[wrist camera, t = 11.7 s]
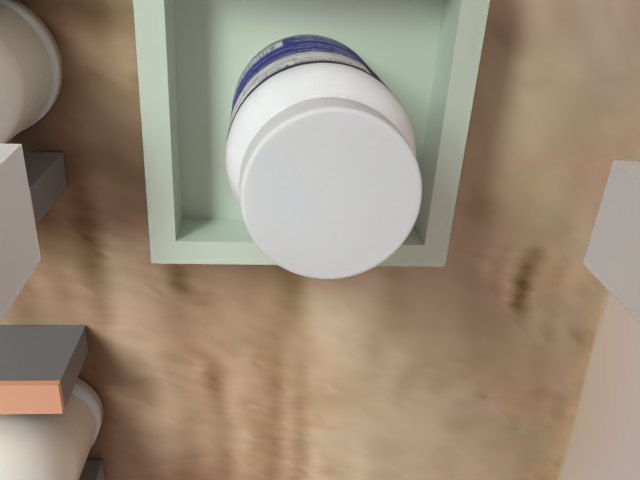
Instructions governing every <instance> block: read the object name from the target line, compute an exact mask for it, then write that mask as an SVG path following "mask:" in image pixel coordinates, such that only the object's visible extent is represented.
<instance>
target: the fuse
mask: <svg viewBox="0 0 640 480" xmlns="http://www.w3.org/2000/svg"><path fill="white" fill-rule="evenodd" d="M62 83H63V63H62V58H61V54H60V51H59V48H58V46H57V43H56V41H55V39H54V37H53V36H52V34H51V32H50V31H49V29H48V28H47V26H46V25H45V24H44V23H43V21H42V20H41V19H40V18H39V17H38V16H37V15H36V14H35V13H34V12H33V11H31V10H30V9H29V8H28V7H26V6H25V5H23V4H22V3H20V2H19V1H17V0H0V143H4V144H5V143H7V142H8V141H9V140H10V139H12V138H13V137H14V136H15V135H17V134H18V133H19V132H21V131H23V130H25V129H27V128H29V127H30V126H32V125H33V124H35V123H36V122H37V121H39V120H40V119H41V118H42V117H43V116H45V115H46V114H47V113H48V112H49V111H50V110H51V108H52V107H53V106H54V104H55V103H56V101H57V99H58V97H59V94H60V92H61V88H62Z"/></svg>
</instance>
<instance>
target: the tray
mask: <svg viewBox="0 0 640 480" xmlns="http://www.w3.org/2000/svg"><path fill="white" fill-rule="evenodd" d="M489 4H490V0H133V7H134V22H135V36H136V51H137V65H138V80H139V94H140V109H141V124H142V138H143V153H144V167H145V182H146V196H147V211H148V225H149V240H150V255H151V263H161V264H241V265H277V264H276V263H274V262H273V261H272V260H271V259H269V258H268V257H267V256H266V255H265V254H264V253H263V252H262V251H261V250H260V249H259V248H258V246H257V245H256V244H255V242H254V241H253V239H252V237H251V236H250V234H249V232H248V230H247V228H246V225H245V222H244V219H243V216H242V212H241V208H240V206H239V204H238V202H237V200H236V199H235V197H234V194H233V192H232V190H231V186H230V183H229V179H228V174H227V167H226V147H227V136H228V131H229V125H230V118H231V111H232V103H233V96H234V92H235V88H236V85H237V83H238V80H239V78H240V76H241V74H242V72H243V70H244V68H245V67H246V66H247V64H248V63H249V61H250V60H251V59H252V58H253V57H254V56H255V55H256V54H257V53H258V52H259V51H260V50H262V49H263V48H264V47H266V46H267V45H269V44H271V43H272V42H275V41H277V40H279V39H282V38H284V37H288V36H292V35H300V34H315V35H321V36H325V37H329V38H332V39H334V40H336V41H339V42H341V43H342V44H344V45H346V46H347V47H349V48H350V49H351V50H353V51H354V52H355V53H356V54H357V55H358V56H359V57H360V58H361V59H362V60H363V61H364V62H365V63H366V64H367V65H368V66H369V67H370V68H371V69H372V71H373V72H374V73H375V74H376V75H377V76H378V77H379V78H380V79H381V81H382V82H383V83H384V84H385V85H386V86H387V87H388V88H389V89H390V90H391V92H392V93H393V94H394V95H395V96H396V98H397V99H398V100H399V101H400V103H401V104H402V106H403V108H404V110H405V111H406V114H407V116H408V118H409V121H410V123H411V126H412V129H413V133H414V138H415V145H416V159H417V162H418V165H419V168H420V173H421V178H422V200H421V205H420V211H419V214H418V217H417V220H416V222H415V224H414V226H413V228H412V230H411V232H410V234H409V235H408V237H407V238H406V240H405V241H404V242H403V244H402V245H401V246H400V247H399V248H398V249H397V250H396V251H395V252H394V253H393V254H392V255H391V256H390V257H389V258H388V259H386V260H385V261H383V262H382V263H380V264H379V265H377V266H400V267H445V264H446V258H447V252H448V246H449V240H450V234H451V229H452V223H453V217H454V211H455V205H456V199H457V193H458V187H459V181H460V175H461V169H462V164H463V158H464V152H465V146H466V140H467V134H468V128H469V122H470V116H471V110H472V105H473V99H474V93H475V87H476V81H477V75H478V69H479V63H480V57H481V51H482V46H483V40H484V34H485V28H486V22H487V16H488V10H489Z"/></svg>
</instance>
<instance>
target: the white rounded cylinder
mask: <svg viewBox="0 0 640 480" xmlns="http://www.w3.org/2000/svg"><path fill="white" fill-rule="evenodd" d="M103 416H104V411H103V405H102V402H101V400H100V398H99V396H98V395H97V393H96V392H95V391H94V389H93V388H92V387H91V386H90V385H88V384H87V383H86V382H85V381H83V380H82V379H80V378H77V381H76V383H75V385H74V388H73V390H72V393H71V395H70V397H69V400H68V402H67V405H66V407H65V409H64V412H63V414H0V480H79V478H80V476H81V473H82V470H83V467H84V465H85V462H86V459H87V457H88V454H89V451H90V448H91V446H92V445H93V444H94V442H95V440H96V438H97V435H98V433H99V430H100V427H101V424H102V421H103Z"/></svg>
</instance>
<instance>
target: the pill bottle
mask: <svg viewBox="0 0 640 480" xmlns="http://www.w3.org/2000/svg"><path fill="white" fill-rule="evenodd" d="M226 167H227V174H228V179H229V183H230V186H231V190H232V192H233V194H234V197H235V199H236V200H237V202H238V204H239V206H240V208H241V212H242V216H243V219H244V222H245V225H246V228H247V230H248V232H249V234H250V236H251V237H252V239H253V241H254V242H255V244H256V245H257V246H258V248H259V249H260V250H261V251H262V252H263V253H264V254H265V255H266V256H267V257H268V258H269V259H271V260H272V261H273V262H274V263H276V264H277V265H279V266H280V267H282V268H284V269H286V270H288V271H290V272H292V273H295V274H298V275H301V276H305V277H309V278H316V279H339V278H345V277H350V276H354V275H358V274H361V273H363V272H365V271H368V270H370V269H372V268H374V267H375V266H377V265H379V264H380V263H382V262H383V261H385V260H386V259H388V258H389V257H390V256H391V255H392V254H393V253H394V252H395V251H396V250H397V249H398V248H399V247H400V246H401V245H402V244H403V242H404V241H405V240H406V238H407V237H408V235H409V234H410V232H411V230H412V228H413V226H414V224H415V222H416V220H417V217H418V214H419V211H420V205H421V200H422V178H421V173H420V168H419V165H418V162H417V159H416V145H415V138H414V133H413V129H412V126H411V123H410V121H409V118H408V116H407V114H406V111H405V110H404V108H403V106H402V104H401V103H400V101H399V100H398V99H397V98H396V96H395V95H394V94H393V93H392V92H391V90H390V89H389V88H388V87H387V86H386V85H385V84H384V83H383V82H382V81H381V79H380V78H379V77H378V76H377V75H376V74H375V73H374V72H373V71H372V69H371V68H370V67H369V66H368V65H367V64H366V63H365V62H364V61H363V60H362V59H361V58H360V57H359V56H358V55H357V54H356V53H355V52H354V51H353V50H351V49H350V48H349V47H347V46H346V45H344V44H342V43H341V42H339V41H336V40H334V39H332V38H329V37H325V36H321V35H315V34H300V35H292V36H288V37H284V38H282V39H279V40H277V41H275V42H272V43H271V44H269V45H267V46H266V47H264V48H263V49H262V50H260V51H259V52H258V53H257V54H256V55H255V56H254V57H253V58H252V59H251V60H250V61H249V63H248V64H247V66H246V67H245V68H244V70H243V72H242V74H241V76H240V78H239V80H238V83H237V85H236V88H235V92H234V96H233V103H232V111H231V118H230V125H229V131H228V136H227V147H226Z"/></svg>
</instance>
